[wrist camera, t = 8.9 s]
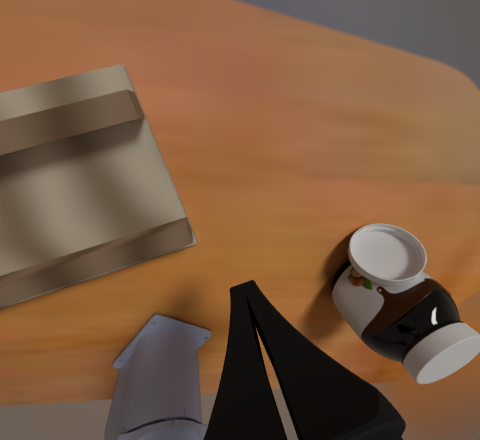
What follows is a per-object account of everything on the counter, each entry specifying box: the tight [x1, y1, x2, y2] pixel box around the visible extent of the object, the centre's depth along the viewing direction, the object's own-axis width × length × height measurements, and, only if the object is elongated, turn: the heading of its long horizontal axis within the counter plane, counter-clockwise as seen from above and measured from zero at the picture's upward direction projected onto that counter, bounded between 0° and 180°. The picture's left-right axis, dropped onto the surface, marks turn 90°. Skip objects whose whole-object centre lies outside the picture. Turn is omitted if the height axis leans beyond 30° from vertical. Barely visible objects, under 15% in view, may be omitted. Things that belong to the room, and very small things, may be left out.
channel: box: [0, 64, 198, 309], centre depth 14 cm, size 22×14×5 cm, turn 103°
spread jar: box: [331, 224, 480, 384], centre depth 22 cm, size 12×11×12 cm
